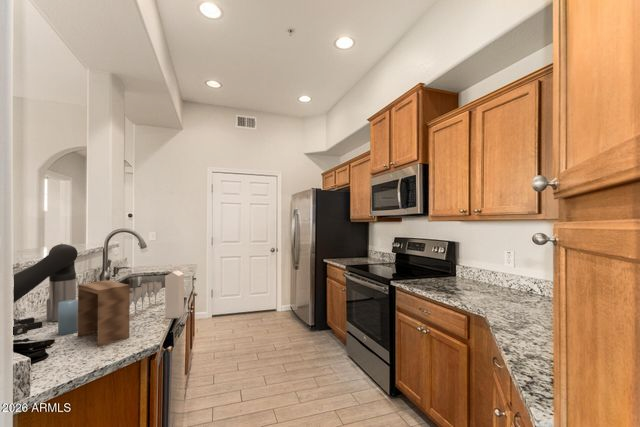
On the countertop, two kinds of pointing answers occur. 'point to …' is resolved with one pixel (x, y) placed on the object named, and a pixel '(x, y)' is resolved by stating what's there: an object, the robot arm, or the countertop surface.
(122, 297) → the open wooden box
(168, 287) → the milk
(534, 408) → the countertop surface
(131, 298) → the goblet set
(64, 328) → the grey-blue cylinder
